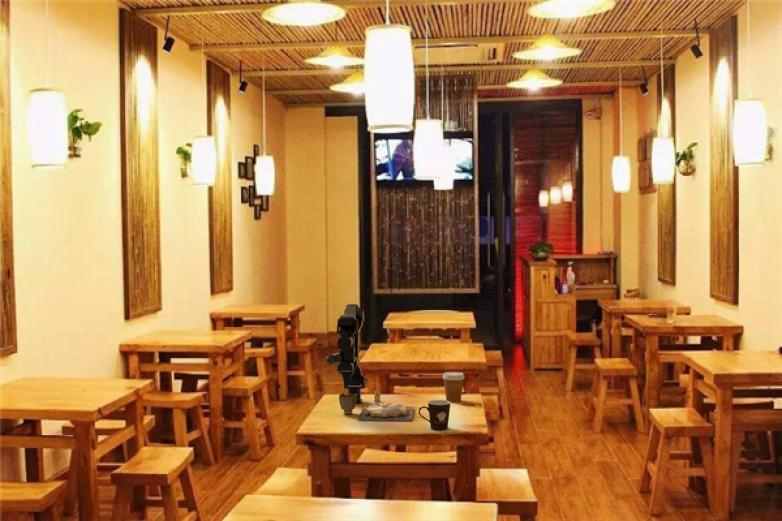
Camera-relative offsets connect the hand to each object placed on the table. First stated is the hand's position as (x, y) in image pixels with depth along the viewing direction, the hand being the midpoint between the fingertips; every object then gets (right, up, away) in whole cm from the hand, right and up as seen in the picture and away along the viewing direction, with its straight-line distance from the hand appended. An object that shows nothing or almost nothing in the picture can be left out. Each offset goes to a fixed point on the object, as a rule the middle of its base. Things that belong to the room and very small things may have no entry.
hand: (347, 384), depth 346 cm
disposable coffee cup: (+45, -11, +23) cm, 52 cm away
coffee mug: (+34, -13, -24) cm, 44 cm away
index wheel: (+16, -11, -2) cm, 19 cm away
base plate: (+16, -12, -2) cm, 20 cm away
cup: (0, -12, +1) cm, 12 cm away
